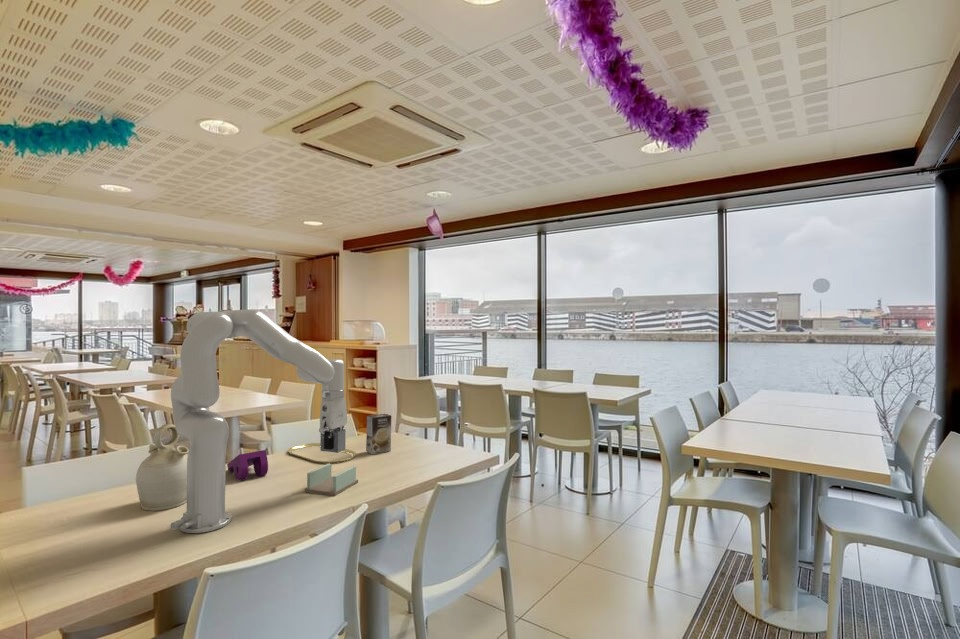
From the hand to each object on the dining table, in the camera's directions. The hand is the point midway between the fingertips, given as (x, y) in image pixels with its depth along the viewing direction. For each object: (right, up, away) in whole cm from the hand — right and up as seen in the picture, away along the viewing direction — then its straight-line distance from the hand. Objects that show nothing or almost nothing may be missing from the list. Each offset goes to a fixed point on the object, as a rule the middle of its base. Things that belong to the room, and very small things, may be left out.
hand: (332, 446), depth 168 cm
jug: (-47, -14, -17) cm, 52 cm away
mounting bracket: (-37, -14, +14) cm, 42 cm away
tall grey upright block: (0, -1, 0) cm, 1 cm away
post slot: (0, -14, 0) cm, 14 cm away
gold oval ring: (-17, -15, +41) cm, 47 cm away
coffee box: (+6, -15, +46) cm, 49 cm away
